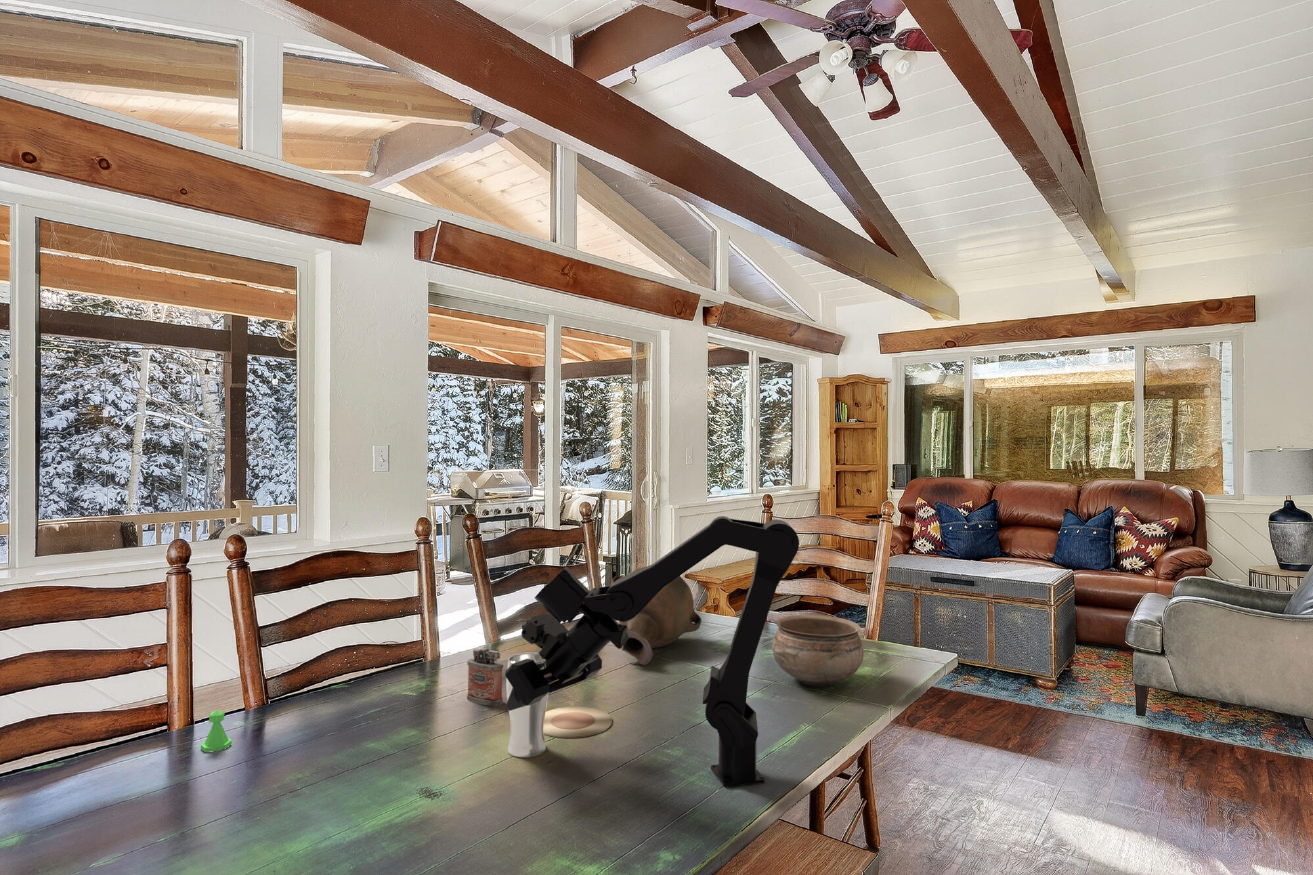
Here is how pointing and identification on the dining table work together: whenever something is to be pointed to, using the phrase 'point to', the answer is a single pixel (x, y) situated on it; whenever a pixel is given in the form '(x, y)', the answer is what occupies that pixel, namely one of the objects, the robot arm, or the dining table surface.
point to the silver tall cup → (527, 717)
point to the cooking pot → (818, 648)
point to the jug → (661, 620)
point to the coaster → (575, 722)
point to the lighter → (485, 678)
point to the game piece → (216, 734)
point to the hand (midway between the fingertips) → (527, 699)
